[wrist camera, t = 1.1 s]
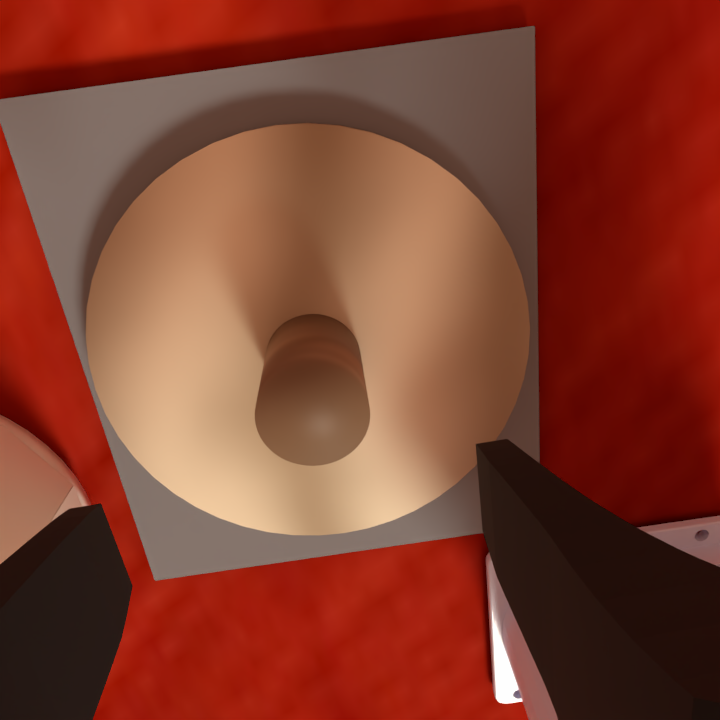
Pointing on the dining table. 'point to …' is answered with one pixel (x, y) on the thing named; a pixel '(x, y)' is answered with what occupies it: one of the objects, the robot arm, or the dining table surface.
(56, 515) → the bowl
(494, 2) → the dining table surface
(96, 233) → the mat
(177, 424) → the lid
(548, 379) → the dining table surface
